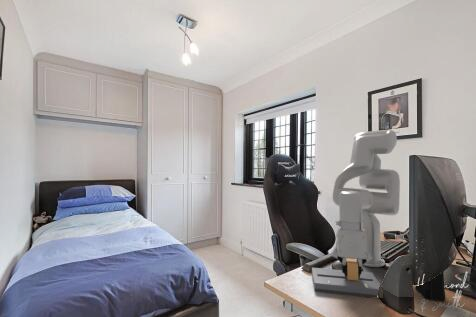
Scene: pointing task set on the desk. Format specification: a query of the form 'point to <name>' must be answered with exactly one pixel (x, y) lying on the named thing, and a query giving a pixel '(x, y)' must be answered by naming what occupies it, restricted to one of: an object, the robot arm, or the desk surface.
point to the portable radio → (433, 288)
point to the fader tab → (352, 269)
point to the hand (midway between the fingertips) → (351, 274)
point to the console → (344, 283)
